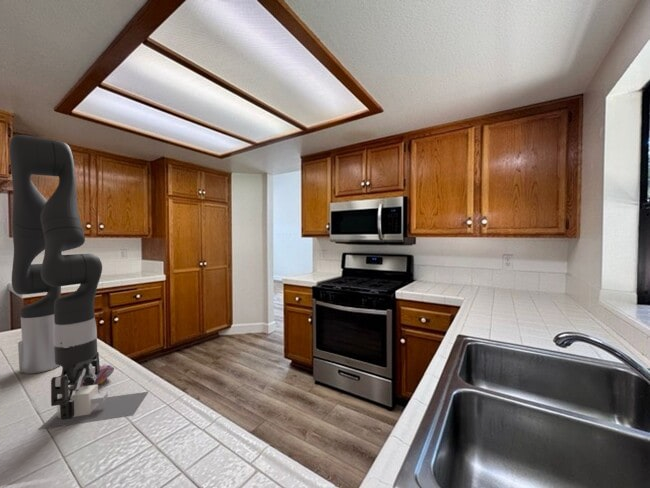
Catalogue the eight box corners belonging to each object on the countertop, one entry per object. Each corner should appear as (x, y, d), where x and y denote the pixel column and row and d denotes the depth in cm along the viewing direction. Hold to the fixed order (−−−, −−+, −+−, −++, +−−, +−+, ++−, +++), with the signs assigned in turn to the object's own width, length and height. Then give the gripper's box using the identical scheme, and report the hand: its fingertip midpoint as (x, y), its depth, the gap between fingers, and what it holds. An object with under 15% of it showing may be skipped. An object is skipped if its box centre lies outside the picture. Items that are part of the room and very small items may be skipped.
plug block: (53, 419, 64) (52, 398, 63) (64, 409, 67) (63, 388, 67) (101, 412, 66) (100, 391, 66) (109, 402, 70) (109, 383, 70)
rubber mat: (38, 431, 60) (37, 429, 60) (67, 404, 70) (67, 402, 70) (133, 417, 65) (133, 415, 65) (148, 393, 75) (148, 391, 75)
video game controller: (75, 404, 73) (84, 381, 72) (62, 395, 73) (71, 372, 73) (111, 384, 82) (119, 364, 82) (99, 376, 83) (107, 356, 82)
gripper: (75, 330, 72) (78, 392, 72) (33, 353, 58) (37, 430, 59) (109, 327, 74) (112, 388, 74) (76, 349, 60) (80, 423, 60)
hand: (79, 406), depth 66 cm, fingers open, 8 cm apart
